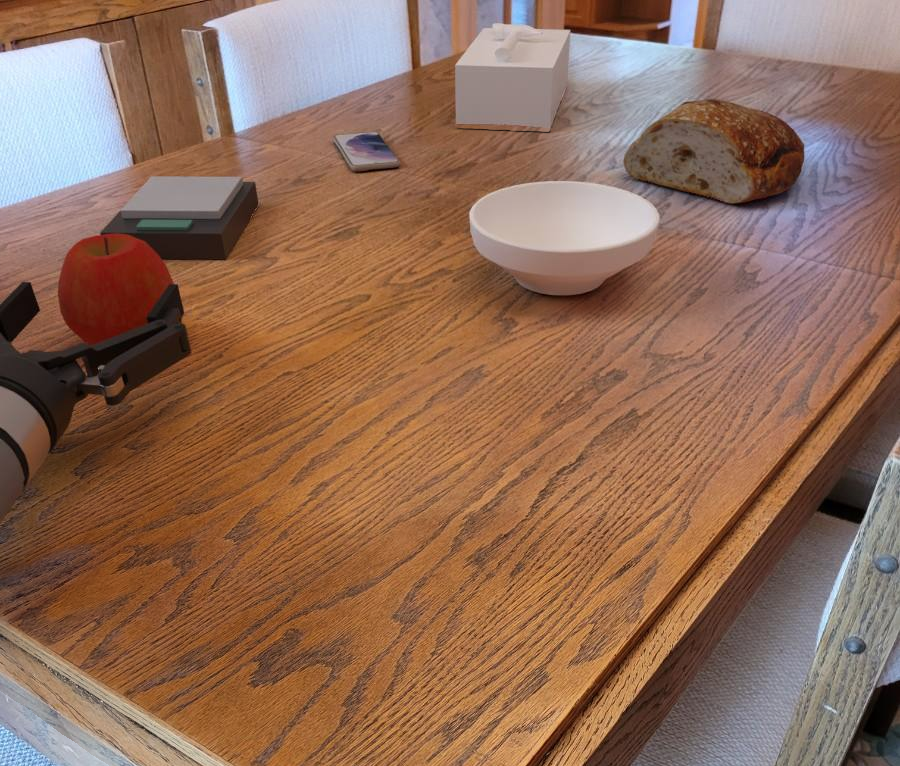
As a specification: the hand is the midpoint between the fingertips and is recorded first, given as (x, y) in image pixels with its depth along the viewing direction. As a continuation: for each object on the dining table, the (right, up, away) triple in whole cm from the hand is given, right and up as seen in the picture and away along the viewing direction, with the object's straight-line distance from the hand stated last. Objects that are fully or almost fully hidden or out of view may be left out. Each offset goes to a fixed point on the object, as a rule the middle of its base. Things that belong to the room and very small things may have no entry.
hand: (104, 297), depth 82 cm
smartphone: (+19, +37, +48) cm, 64 cm away
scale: (-1, +18, +28) cm, 33 cm away
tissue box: (+42, +52, +64) cm, 93 cm away
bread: (+67, +28, +38) cm, 82 cm away
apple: (0, -2, +7) cm, 7 cm away
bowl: (+43, +7, +16) cm, 47 cm away
